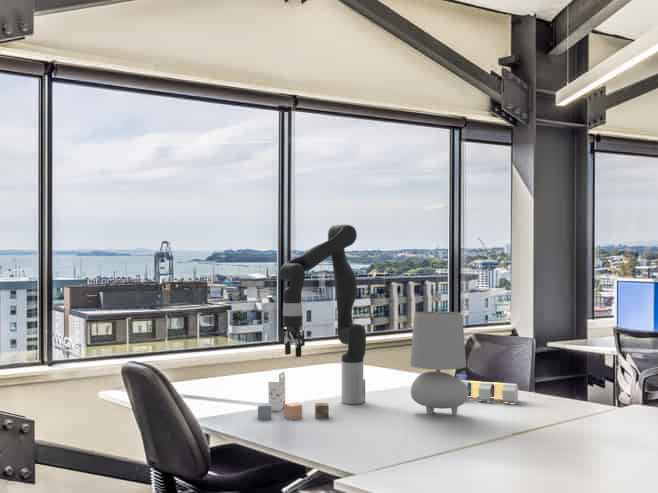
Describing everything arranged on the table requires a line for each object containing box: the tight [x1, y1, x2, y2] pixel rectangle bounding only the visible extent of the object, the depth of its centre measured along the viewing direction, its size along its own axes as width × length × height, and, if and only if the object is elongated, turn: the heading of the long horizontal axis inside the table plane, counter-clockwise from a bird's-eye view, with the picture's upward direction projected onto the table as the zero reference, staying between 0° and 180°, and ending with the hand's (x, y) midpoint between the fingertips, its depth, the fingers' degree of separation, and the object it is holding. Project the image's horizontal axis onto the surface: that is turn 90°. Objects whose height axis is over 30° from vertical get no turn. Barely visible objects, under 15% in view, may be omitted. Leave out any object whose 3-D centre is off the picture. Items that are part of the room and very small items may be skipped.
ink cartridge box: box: [267, 371, 286, 412], centre depth 294 cm, size 9×5×15 cm, turn 168°
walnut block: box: [314, 402, 330, 420], centre depth 279 cm, size 5×5×5 cm
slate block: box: [257, 402, 272, 420], centre depth 278 cm, size 5×5×5 cm
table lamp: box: [410, 311, 469, 416], centre depth 284 cm, size 23×22×40 cm
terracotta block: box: [283, 402, 303, 420], centre depth 278 cm, size 5×5×5 cm
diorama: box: [456, 370, 519, 403], centre depth 311 cm, size 25×10×13 cm, turn 68°
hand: (293, 355), depth 285 cm, fingers open, 8 cm apart
